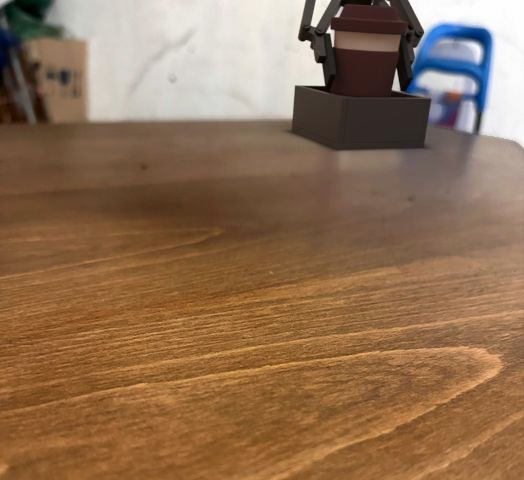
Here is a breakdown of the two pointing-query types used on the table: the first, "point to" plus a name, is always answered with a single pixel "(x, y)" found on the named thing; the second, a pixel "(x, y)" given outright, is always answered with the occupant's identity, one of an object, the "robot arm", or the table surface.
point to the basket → (360, 119)
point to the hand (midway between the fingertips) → (369, 83)
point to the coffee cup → (366, 50)
